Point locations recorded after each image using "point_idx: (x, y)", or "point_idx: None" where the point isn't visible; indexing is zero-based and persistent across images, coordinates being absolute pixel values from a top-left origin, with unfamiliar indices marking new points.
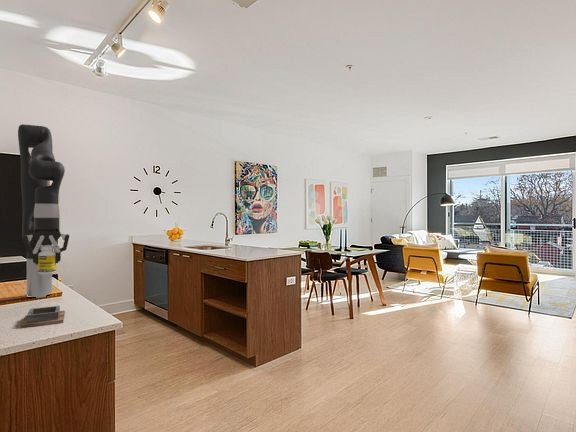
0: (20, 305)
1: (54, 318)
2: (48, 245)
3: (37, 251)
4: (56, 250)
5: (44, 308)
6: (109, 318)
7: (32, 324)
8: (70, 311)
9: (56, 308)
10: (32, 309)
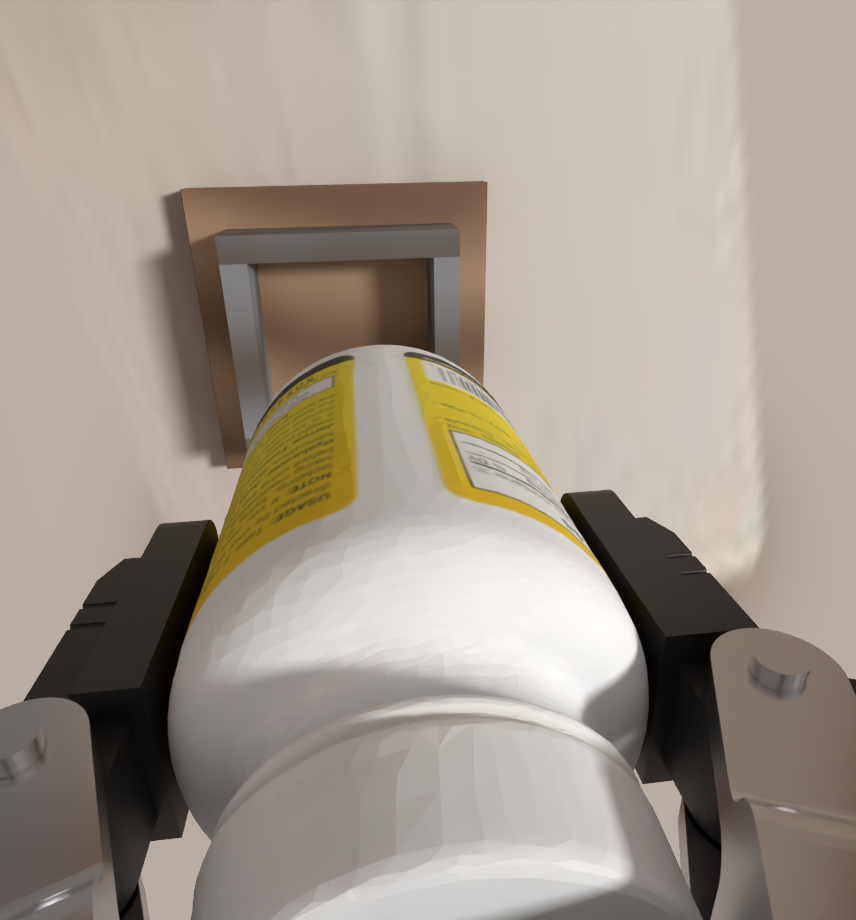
0: None
1: None
2: (495, 894)
3: (110, 808)
4: (696, 871)
5: (337, 259)
6: (743, 464)
7: None
8: (525, 133)
9: (438, 326)
10: (242, 270)
